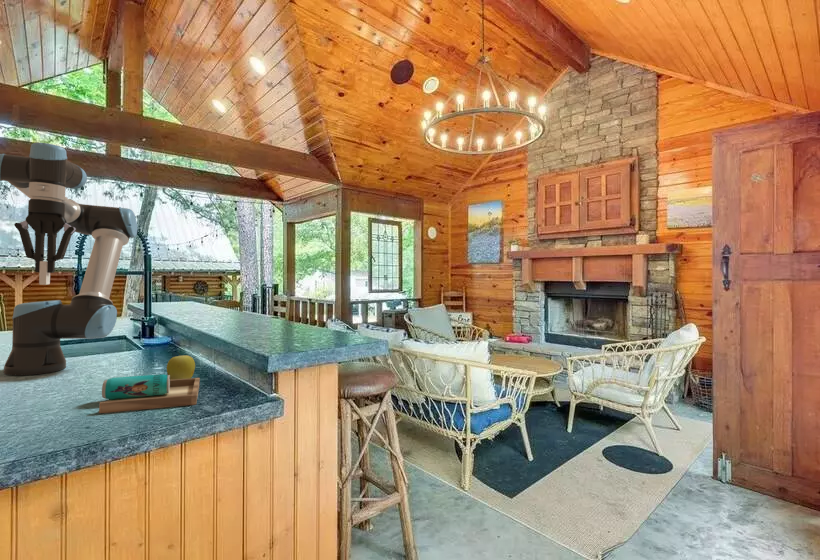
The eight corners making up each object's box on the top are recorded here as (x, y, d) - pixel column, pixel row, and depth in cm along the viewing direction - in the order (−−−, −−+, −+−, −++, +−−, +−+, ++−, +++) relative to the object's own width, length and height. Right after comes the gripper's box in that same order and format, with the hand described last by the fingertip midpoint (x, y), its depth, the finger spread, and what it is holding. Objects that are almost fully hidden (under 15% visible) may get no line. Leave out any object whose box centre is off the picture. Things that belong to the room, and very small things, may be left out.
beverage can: (101, 382, 102) (168, 377, 109) (106, 375, 107) (170, 371, 114) (101, 403, 103) (168, 397, 110) (105, 395, 108) (169, 390, 115)
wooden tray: (116, 391, 114) (116, 383, 114) (199, 385, 123) (199, 377, 123) (99, 413, 97) (99, 403, 97) (196, 404, 106) (196, 395, 106)
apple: (189, 381, 123) (181, 350, 123) (165, 387, 124) (157, 357, 124) (203, 375, 131) (195, 346, 131) (180, 381, 131) (173, 352, 131)
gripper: (9, 195, 104) (6, 284, 104) (72, 201, 109) (69, 285, 110) (22, 199, 110) (19, 283, 111) (80, 205, 116) (78, 284, 116)
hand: (44, 284), depth 110 cm, fingers closed
